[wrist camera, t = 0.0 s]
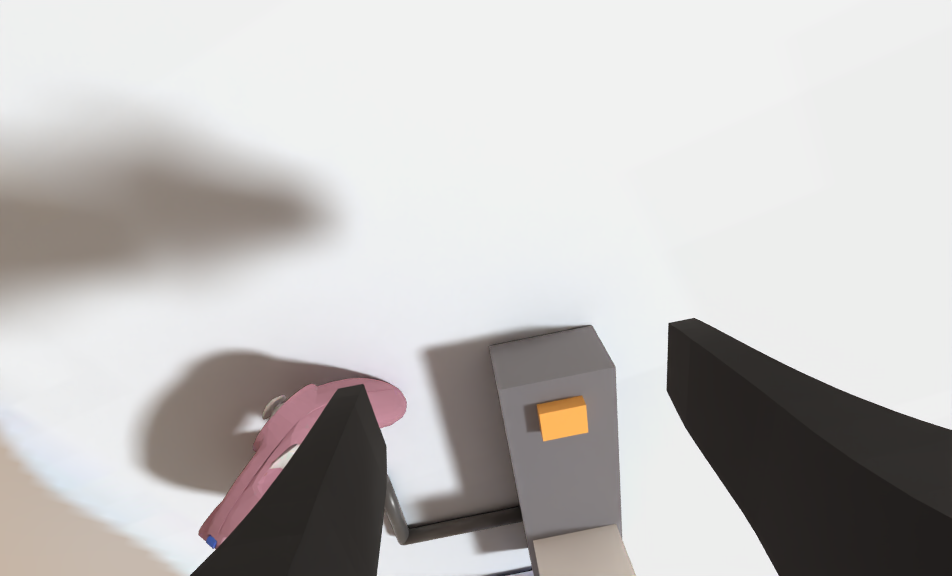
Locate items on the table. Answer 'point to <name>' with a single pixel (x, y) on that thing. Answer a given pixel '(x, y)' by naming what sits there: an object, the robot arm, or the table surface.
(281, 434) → the video game controller
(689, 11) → the table surface
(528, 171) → the table surface
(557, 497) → the power strip
